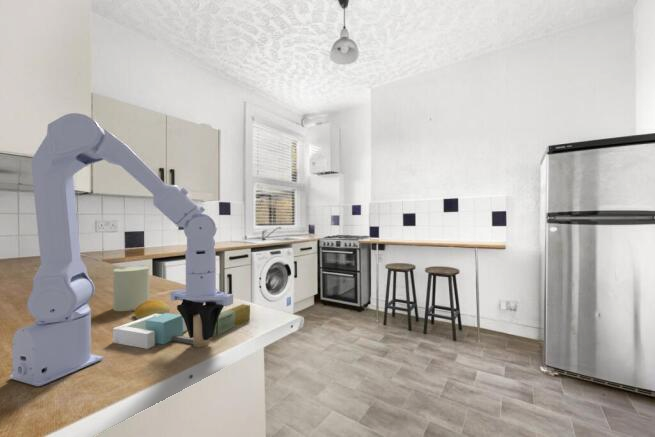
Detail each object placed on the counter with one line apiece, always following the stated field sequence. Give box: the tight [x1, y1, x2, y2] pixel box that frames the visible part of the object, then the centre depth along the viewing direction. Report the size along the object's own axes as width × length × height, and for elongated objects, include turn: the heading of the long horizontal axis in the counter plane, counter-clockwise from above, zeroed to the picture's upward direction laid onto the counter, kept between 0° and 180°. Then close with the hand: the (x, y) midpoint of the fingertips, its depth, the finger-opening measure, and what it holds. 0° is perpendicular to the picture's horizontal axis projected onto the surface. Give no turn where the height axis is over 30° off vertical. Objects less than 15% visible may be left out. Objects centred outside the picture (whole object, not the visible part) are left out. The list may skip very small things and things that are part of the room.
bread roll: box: [133, 299, 171, 320], centre depth 79 cm, size 8×9×4 cm
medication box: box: [213, 303, 251, 337], centre depth 70 cm, size 12×3×4 cm, turn 157°
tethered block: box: [146, 312, 210, 348], centre depth 61 cm, size 5×14×6 cm, turn 71°
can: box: [112, 265, 150, 312], centre depth 87 cm, size 9×9×12 cm
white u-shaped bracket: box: [112, 314, 188, 350], centre depth 64 cm, size 10×10×3 cm
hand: (201, 337), depth 59 cm, fingers closed on tethered block, 3 cm apart
